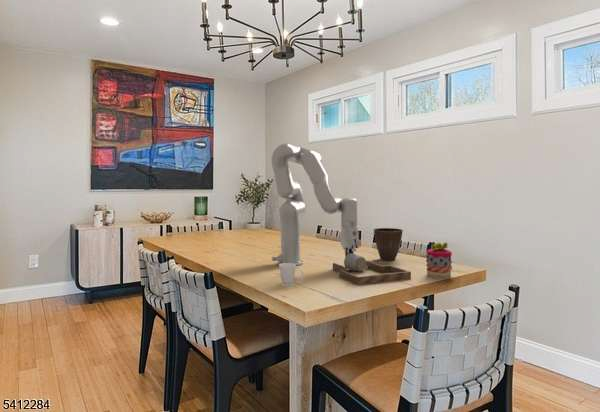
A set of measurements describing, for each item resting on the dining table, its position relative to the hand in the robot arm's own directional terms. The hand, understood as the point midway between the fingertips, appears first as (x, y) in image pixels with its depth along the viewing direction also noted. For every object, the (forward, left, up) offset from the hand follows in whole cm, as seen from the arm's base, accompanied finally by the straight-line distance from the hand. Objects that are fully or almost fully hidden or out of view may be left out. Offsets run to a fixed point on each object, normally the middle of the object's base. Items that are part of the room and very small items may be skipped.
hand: (349, 262), depth 188 cm
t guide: (0, -15, -3) cm, 15 cm away
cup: (-37, -18, -3) cm, 42 cm away
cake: (+28, -29, -3) cm, 41 cm away
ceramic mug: (+1, -6, -3) cm, 7 cm away
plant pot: (+29, +10, -3) cm, 31 cm away
